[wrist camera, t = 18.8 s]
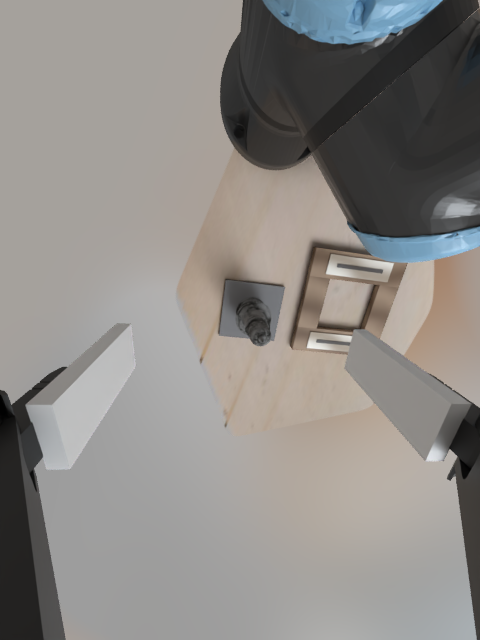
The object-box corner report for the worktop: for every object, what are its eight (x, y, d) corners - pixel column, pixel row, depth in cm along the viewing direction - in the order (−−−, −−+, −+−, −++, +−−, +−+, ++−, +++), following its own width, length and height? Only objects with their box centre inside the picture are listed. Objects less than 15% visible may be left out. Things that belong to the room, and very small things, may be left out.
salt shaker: (230, 300, 40) (234, 326, 29) (264, 291, 40) (281, 315, 29) (238, 331, 42) (245, 367, 31) (270, 323, 42) (289, 356, 31)
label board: (313, 247, 39) (317, 247, 37) (403, 260, 40) (409, 261, 39) (290, 346, 45) (292, 350, 43) (369, 353, 46) (373, 357, 45)
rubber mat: (225, 279, 39) (225, 279, 39) (284, 286, 40) (284, 287, 40) (219, 334, 43) (219, 335, 42) (273, 339, 44) (273, 340, 43)
